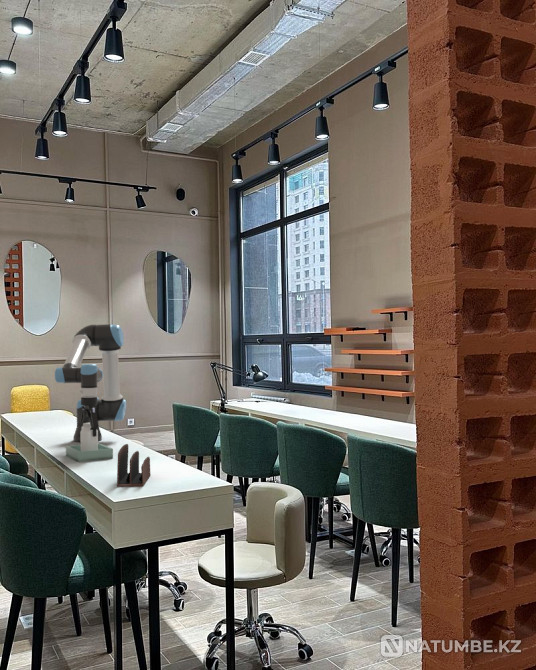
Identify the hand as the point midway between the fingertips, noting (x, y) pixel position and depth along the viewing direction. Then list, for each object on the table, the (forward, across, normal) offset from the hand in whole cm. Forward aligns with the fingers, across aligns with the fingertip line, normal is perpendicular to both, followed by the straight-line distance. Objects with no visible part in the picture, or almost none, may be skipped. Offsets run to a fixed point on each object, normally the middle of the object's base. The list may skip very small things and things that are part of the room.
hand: (89, 441), depth 307 cm
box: (+7, 0, 0) cm, 7 cm away
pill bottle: (+6, 0, 0) cm, 6 cm away
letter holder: (+8, +62, -2) cm, 63 cm away
